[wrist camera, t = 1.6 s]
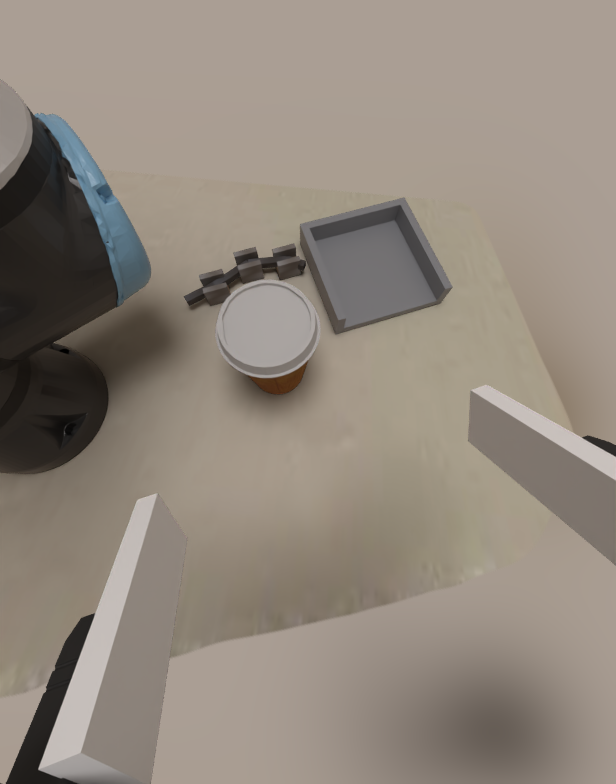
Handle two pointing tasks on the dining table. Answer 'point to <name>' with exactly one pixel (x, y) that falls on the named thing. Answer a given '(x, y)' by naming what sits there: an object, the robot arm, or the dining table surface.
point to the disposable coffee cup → (268, 333)
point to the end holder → (372, 264)
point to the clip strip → (246, 273)
